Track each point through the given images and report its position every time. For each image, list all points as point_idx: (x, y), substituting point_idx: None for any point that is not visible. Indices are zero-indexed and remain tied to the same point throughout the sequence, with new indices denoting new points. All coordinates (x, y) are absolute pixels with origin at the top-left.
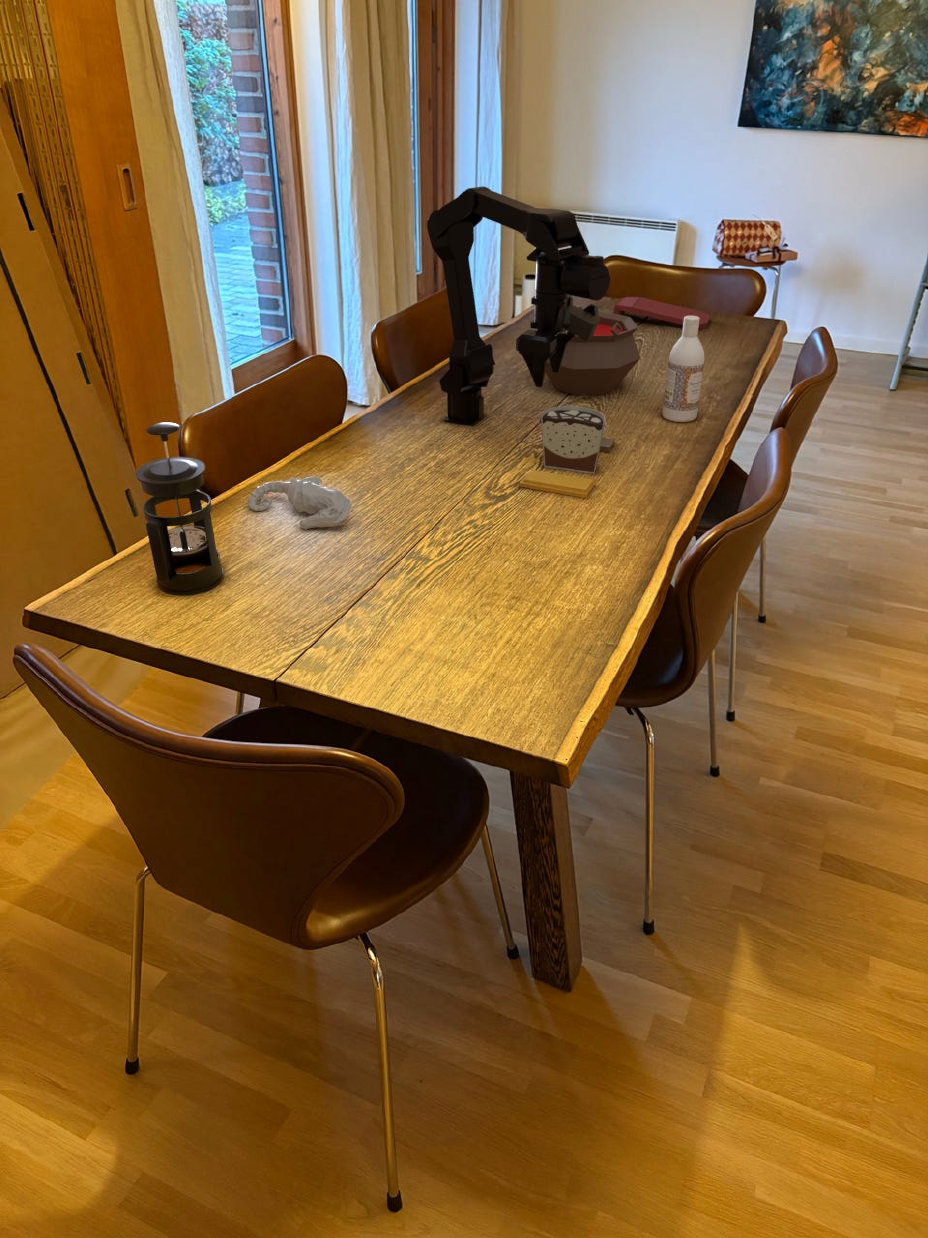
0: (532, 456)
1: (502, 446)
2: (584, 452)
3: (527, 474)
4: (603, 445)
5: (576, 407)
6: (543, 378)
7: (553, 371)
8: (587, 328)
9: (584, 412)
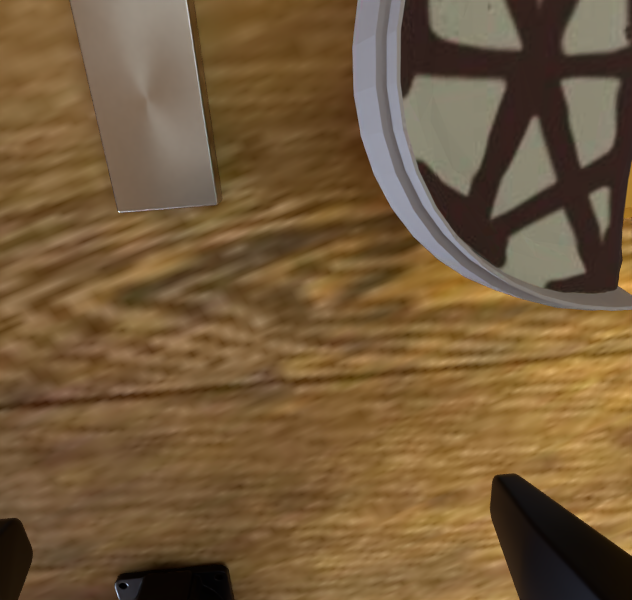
0: (394, 286)
1: (349, 415)
2: None
3: (629, 215)
4: (184, 4)
5: (404, 116)
6: (576, 531)
7: (30, 555)
8: None
9: (409, 30)
